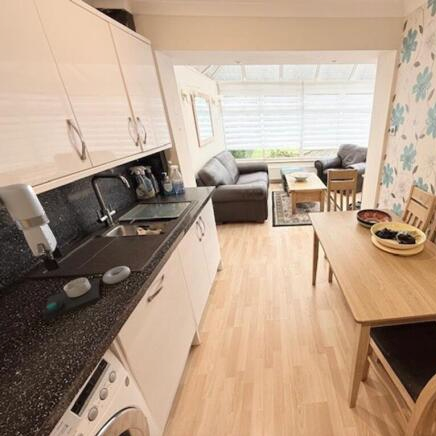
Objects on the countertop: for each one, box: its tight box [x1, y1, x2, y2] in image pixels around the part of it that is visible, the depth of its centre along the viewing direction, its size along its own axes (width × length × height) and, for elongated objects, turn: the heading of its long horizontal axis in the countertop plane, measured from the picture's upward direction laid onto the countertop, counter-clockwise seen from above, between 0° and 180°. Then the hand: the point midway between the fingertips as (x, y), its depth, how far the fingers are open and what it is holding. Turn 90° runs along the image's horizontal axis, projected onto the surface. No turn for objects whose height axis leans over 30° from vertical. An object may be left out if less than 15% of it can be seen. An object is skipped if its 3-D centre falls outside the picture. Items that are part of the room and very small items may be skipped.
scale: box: [41, 278, 101, 323], centre depth 92 cm, size 16×14×3 cm
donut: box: [102, 265, 131, 285], centre depth 102 cm, size 10×4×10 cm
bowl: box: [63, 277, 91, 297], centre depth 93 cm, size 7×7×4 cm
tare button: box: [47, 302, 58, 310], centre depth 85 cm, size 3×3×1 cm
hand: (56, 263), depth 87 cm, fingers open, 9 cm apart
